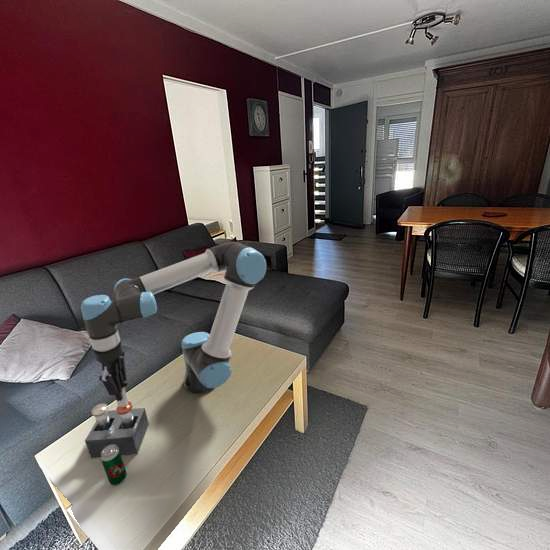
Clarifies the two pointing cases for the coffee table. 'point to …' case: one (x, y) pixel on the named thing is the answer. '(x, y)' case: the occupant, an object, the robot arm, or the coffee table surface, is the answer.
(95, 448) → the housing
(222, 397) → the coffee table surface
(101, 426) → the white light bulb
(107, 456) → the soda can
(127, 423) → the orange light bulb
